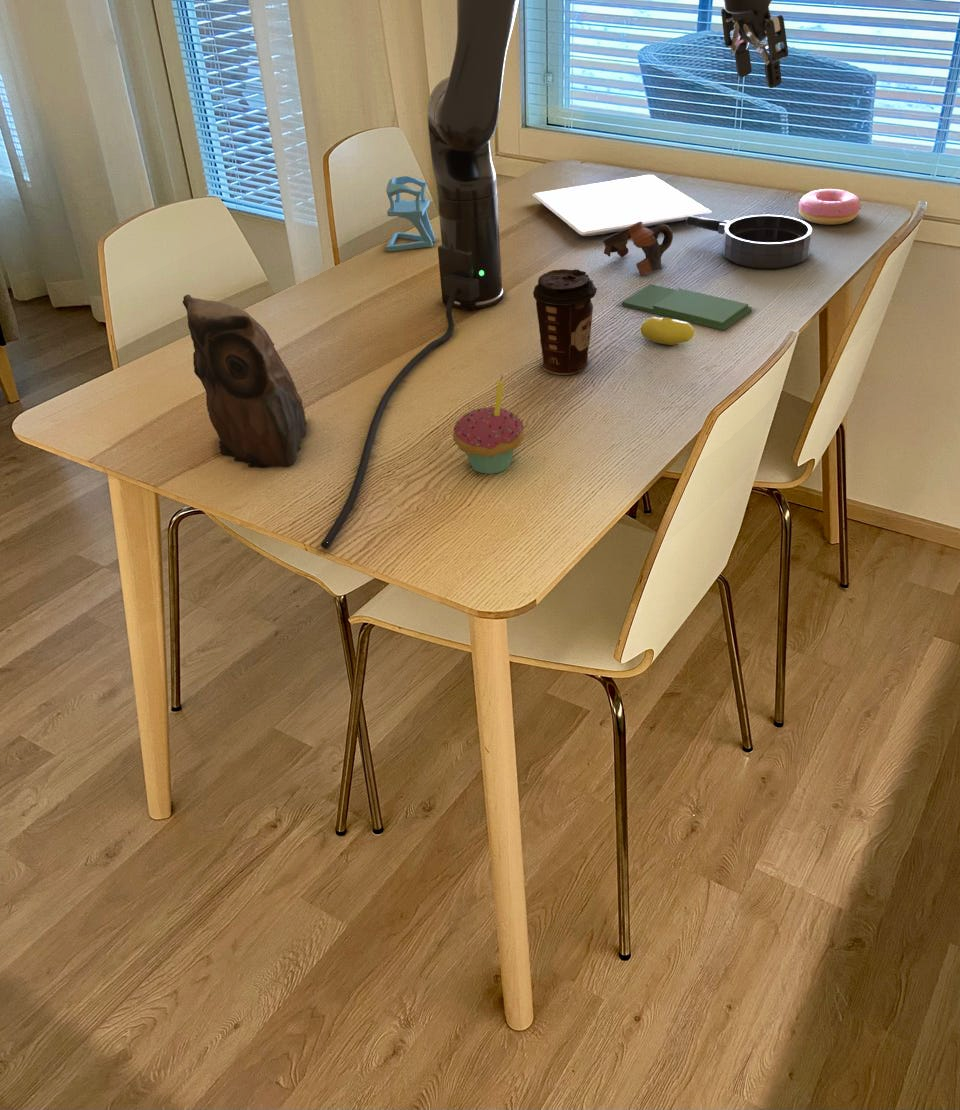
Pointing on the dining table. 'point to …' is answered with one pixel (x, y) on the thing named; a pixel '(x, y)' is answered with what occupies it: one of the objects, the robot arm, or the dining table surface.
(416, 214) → the chair
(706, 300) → the cloth
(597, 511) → the dining table surface
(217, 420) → the owl
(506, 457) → the cupcake
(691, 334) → the lemon
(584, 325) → the coffee cup
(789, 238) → the pan
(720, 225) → the pan handle
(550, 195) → the white rectangular board
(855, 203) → the doughnut
